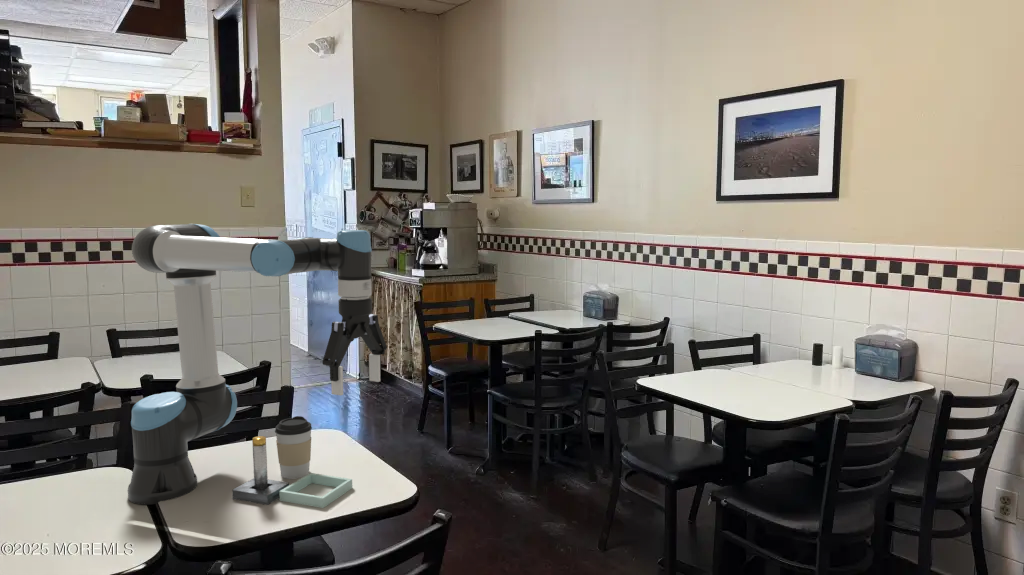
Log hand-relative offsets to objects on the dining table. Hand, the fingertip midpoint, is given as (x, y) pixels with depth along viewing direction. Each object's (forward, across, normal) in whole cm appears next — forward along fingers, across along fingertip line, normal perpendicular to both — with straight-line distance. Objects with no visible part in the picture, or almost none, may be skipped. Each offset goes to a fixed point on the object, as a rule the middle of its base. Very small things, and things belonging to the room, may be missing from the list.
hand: (356, 387), depth 160 cm
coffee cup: (+28, +4, +24) cm, 36 cm away
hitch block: (+27, -10, +21) cm, 36 cm away
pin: (+26, -10, +21) cm, 35 cm away
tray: (+27, -4, +10) cm, 29 cm away
